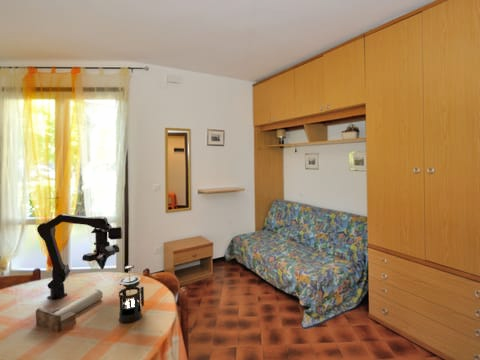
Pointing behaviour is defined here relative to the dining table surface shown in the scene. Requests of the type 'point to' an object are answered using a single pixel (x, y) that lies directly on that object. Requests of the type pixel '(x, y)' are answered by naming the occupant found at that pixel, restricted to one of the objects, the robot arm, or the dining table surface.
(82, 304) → the tube
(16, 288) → the dining table surface
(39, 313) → the socket
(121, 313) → the french press
